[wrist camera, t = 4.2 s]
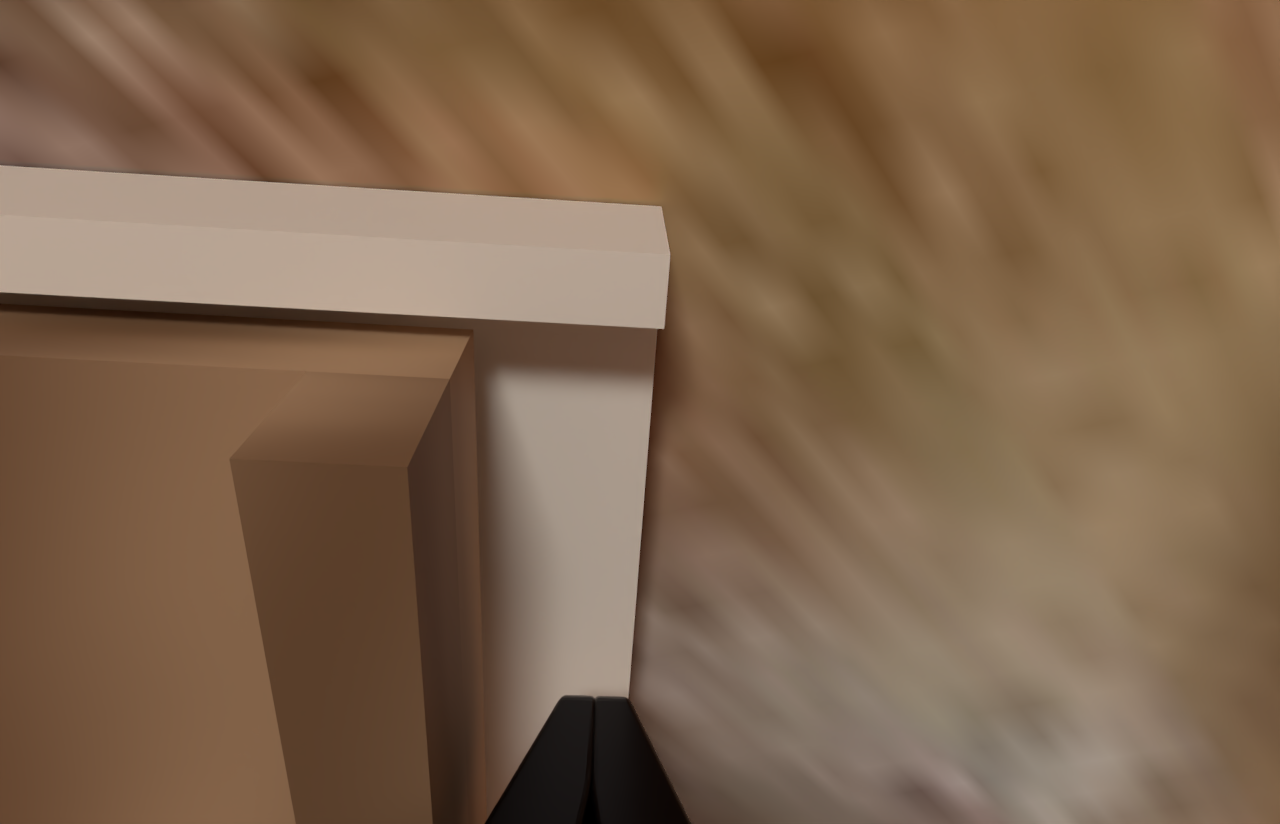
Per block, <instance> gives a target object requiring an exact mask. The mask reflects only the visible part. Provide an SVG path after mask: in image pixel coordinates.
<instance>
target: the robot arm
mask: <svg viewBox="0 0 1280 824" xmlns="http://www.w3.org/2000/svg"><path fill="white" fill-rule="evenodd" d="M485 824H691V822H690V820H689V818H688V816H687V814H686V812H685V810H684V808H683V806H682V804H681V802H680V800H679V798H678V796H677V794H676V792H675V790H674V788H673V786H672V784H671V782H670V780H669V778H668V776H667V774H666V772H665V770H664V768H663V766H662V764H661V762H660V760H659V758H658V756H657V754H656V752H655V750H654V748H653V746H652V743H651V741H650V739H649V737H648V735H647V733H646V731H645V729H644V727H643V725H642V723H641V721H640V719H639V717H638V715H637V713H636V711H635V709H634V707H633V705H632V703H631V702H630V700H629V699H628V698H626V697H620V696H597V697H596V698H594V697H593V696H586V695H564V696H562V697H561V698H560V699H559V700H558V702H557V704H556V705H555V707H554V709H553V710H552V712H551V714H550V715H549V717H548V719H547V720H546V722H545V724H544V725H543V727H542V729H541V730H540V732H539V734H538V735H537V737H536V739H535V740H534V742H533V744H532V745H531V747H530V749H529V750H528V752H527V754H526V755H525V757H524V759H523V760H522V762H521V764H520V765H519V767H518V769H517V770H516V772H515V774H514V775H513V777H512V779H511V780H510V782H509V784H508V785H507V787H506V789H505V790H504V792H503V794H502V795H501V797H500V799H499V800H498V802H497V804H496V805H495V807H494V809H493V810H492V812H491V814H490V815H489V817H488V819H487V820H486V822H485Z"/></svg>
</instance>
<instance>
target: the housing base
mask: <svg viewBox="0 0 1280 824" xmlns="http://www.w3.org/2000/svg"><path fill="white" fill-rule="evenodd" d="M669 266H670V250H669V244H668V239H667V234H666V228H665V223H664V217H663V212H662V207H661V206H647V205H630V204H614V203H598V202H582V201H566V200H550V199H534V198H517V197H501V196H485V195H469V194H453V193H437V192H421V191H404V190H388V189H372V188H356V187H340V186H324V185H308V184H291V183H275V182H259V181H243V180H227V179H211V178H195V177H178V176H162V175H146V174H130V173H114V172H98V171H82V170H65V169H49V168H33V167H17V166H1V165H0V304H17V305H35V306H53V307H71V308H90V309H108V310H126V311H144V312H162V313H181V314H199V315H217V316H235V317H254V318H272V319H290V320H308V321H327V322H345V323H363V324H381V325H399V326H418V327H436V328H454V329H472V330H473V332H474V368H475V404H476V441H477V477H478V513H479V549H480V586H481V622H482V658H483V694H484V731H485V767H486V803H487V819H488V817H489V815H490V814H491V812H492V810H493V809H494V807H495V805H496V804H497V802H498V800H499V799H500V797H501V795H502V794H503V792H504V790H505V789H506V787H507V785H508V784H509V782H510V780H511V779H512V777H513V775H514V774H515V772H516V770H517V769H518V767H519V765H520V764H521V762H522V760H523V759H524V757H525V755H526V754H527V752H528V750H529V749H530V747H531V745H532V744H533V742H534V740H535V739H536V737H537V735H538V734H539V732H540V730H541V729H542V727H543V725H544V724H545V722H546V720H547V719H548V717H549V715H550V714H551V712H552V710H553V709H554V707H555V705H556V704H557V702H558V700H559V699H560V698H561V697H562V696H564V695H586V696H593V697H594V698H596V697H597V696H620V697H626V698H628V697H629V685H630V672H631V659H632V646H633V634H634V621H635V608H636V596H637V583H638V570H639V558H640V545H641V532H642V519H643V507H644V494H645V481H646V469H647V456H648V443H649V430H650V418H651V405H652V392H653V380H654V367H655V354H656V342H657V329H664V326H665V314H666V302H667V290H668V278H669Z"/></svg>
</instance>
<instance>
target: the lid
mask: <svg viewBox="0 0 1280 824" xmlns="http://www.w3.org/2000/svg"><path fill="white" fill-rule="evenodd" d="M486 820H487V803H486V767H485V731H484V694H483V658H482V622H481V586H480V549H479V513H478V477H477V441H476V404H475V368H474V332H473V330H472V329H454V328H436V327H418V326H399V325H381V324H363V323H345V322H327V321H308V320H290V319H272V318H254V317H235V316H217V315H199V314H181V313H162V312H144V311H126V310H108V309H90V308H71V307H53V306H35V305H17V304H0V824H485V822H486Z"/></svg>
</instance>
